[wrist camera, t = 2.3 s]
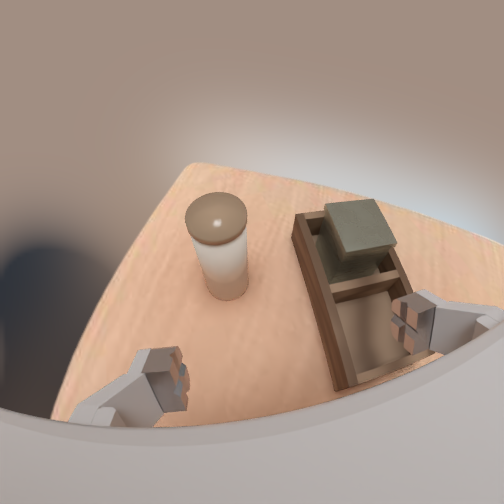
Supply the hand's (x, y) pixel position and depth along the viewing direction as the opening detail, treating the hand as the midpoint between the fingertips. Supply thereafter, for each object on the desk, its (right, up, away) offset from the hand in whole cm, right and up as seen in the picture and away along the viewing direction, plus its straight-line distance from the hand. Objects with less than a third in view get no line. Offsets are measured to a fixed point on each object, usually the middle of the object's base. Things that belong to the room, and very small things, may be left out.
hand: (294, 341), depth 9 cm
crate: (+11, -3, +24) cm, 26 cm away
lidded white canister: (-5, -1, +25) cm, 25 cm away
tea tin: (+10, +2, +25) cm, 27 cm away
